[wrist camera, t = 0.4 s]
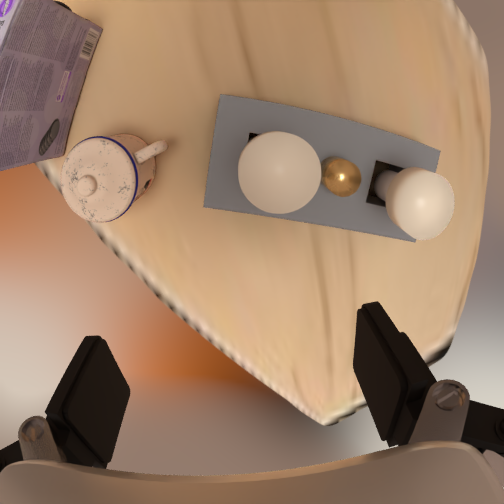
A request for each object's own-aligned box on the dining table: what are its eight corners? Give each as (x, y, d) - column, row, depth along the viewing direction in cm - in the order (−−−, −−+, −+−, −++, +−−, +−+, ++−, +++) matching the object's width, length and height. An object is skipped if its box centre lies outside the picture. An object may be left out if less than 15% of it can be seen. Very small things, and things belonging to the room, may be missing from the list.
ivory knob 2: (370, 151, 31) (410, 164, 23) (415, 165, 32) (461, 182, 24) (356, 206, 34) (391, 234, 26) (402, 216, 35) (442, 244, 26)
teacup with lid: (112, 212, 38) (73, 246, 28) (83, 153, 35) (33, 169, 24) (190, 173, 37) (171, 195, 26) (160, 108, 34) (129, 104, 23)
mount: (223, 98, 34) (220, 94, 28) (416, 145, 36) (440, 150, 31) (208, 194, 38) (203, 207, 33) (395, 226, 41) (415, 242, 35)
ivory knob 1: (243, 124, 30) (245, 125, 22) (304, 135, 31) (328, 141, 22) (233, 184, 32) (232, 207, 24) (292, 193, 33) (311, 219, 25)
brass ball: (321, 152, 31) (330, 156, 28) (352, 160, 31) (365, 165, 28) (314, 185, 32) (322, 193, 29) (345, 191, 33) (356, 200, 29)
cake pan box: (78, 18, 27) (0, -18, 11) (108, 21, 28) (35, -24, 12) (38, 149, 34) (-50, 177, 18) (65, 156, 35) (-23, 188, 19)
